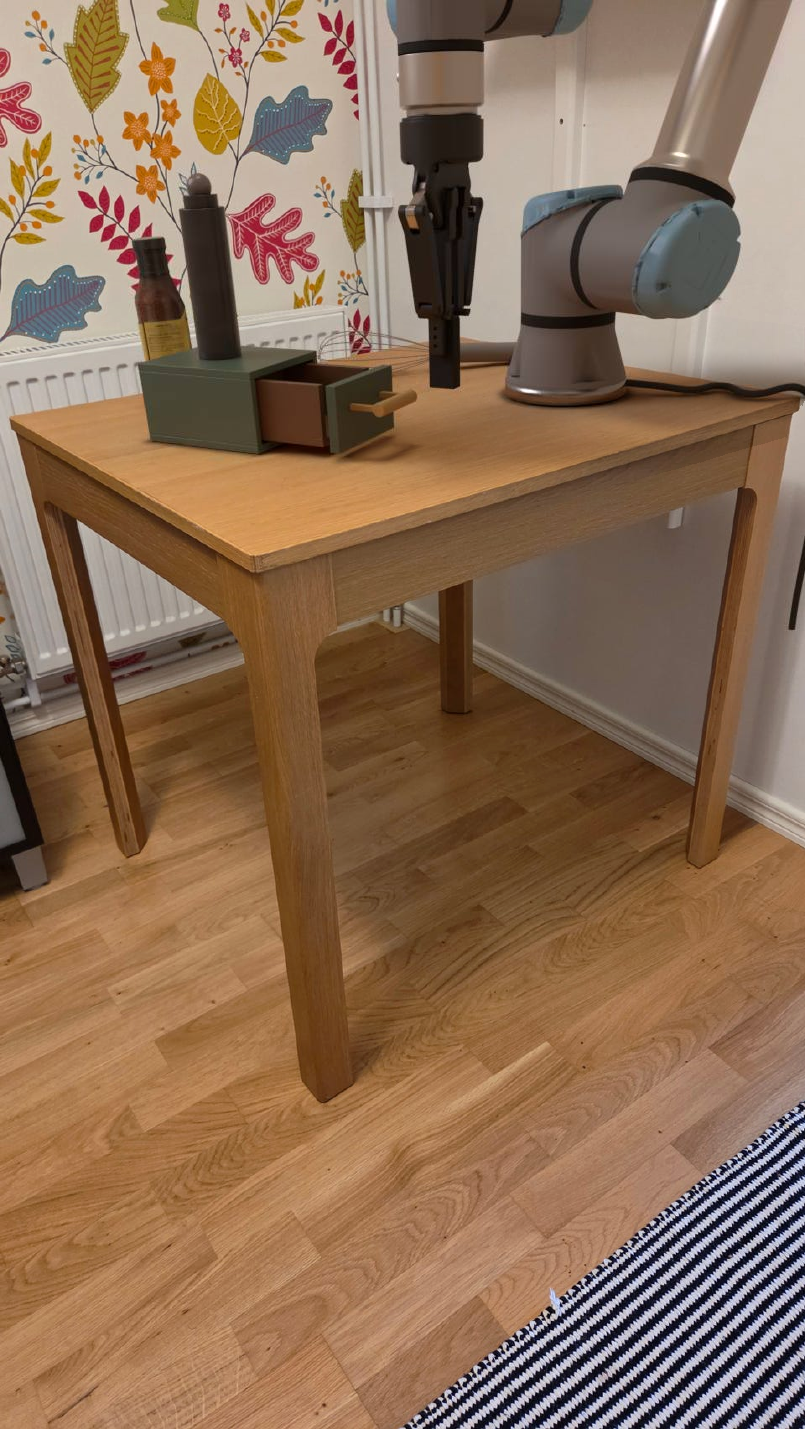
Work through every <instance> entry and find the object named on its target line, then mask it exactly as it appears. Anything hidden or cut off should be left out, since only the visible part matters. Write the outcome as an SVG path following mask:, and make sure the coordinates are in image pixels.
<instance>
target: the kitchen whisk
mask: <svg viewBox="0 0 805 1429" xmlns="http://www.w3.org/2000/svg"><path fill="white" fill-rule="evenodd" d="M342 333H346V334H342ZM339 334H341V335H339ZM334 335H337V336H335V337H332V336H334ZM345 336H374V337H381V338H387V339H393V340H397V341H402V342H406V343H411V344H415V345H418V346H421V347H425V348H421V347H413V346H407V345H400V344H391V343H378V342H366V341H365V342H363V341H347V342H346V341H341V342H333V343H329V342H330V341H332V340H335V339H337V338H340V337H345ZM330 337H332V338H330ZM328 338H329V339H328ZM327 339H328V340H327ZM326 340H327V341H326ZM325 341H326V342H325ZM324 342H325V343H324ZM328 343H329V344H328ZM516 343H517V341H501V342H497V341H496V342H493V341H492V342H460V364H465V363H466V364H467V363H505V362H507V363H509V359H510V357H511V356H512V355H513V352H514V349H515V346H516ZM339 344H367V345H368V344H369V345H381V346H393V347H400V348H407V349H394V348H393V349H392V348H346V349H345V348H344V349H334V350H327V351H323V348H325V347H328V346H332V345H339ZM427 348H428V349H427ZM363 350H364V351H399V352H401V351H402V352H421V353H429V345H426V344H423V343H420V342H417V341H413V340H411V339H407V338H403V337H399V336H393V335H389V334H384V333H383V334H382V333H379V332H372V331H363V330H345V331H339V332H334V333H332V334H330V335H328V336H325V338H324V339H323V341H322V342H321V344H320V345H319V348H318V351H317V360H319V363H320V364H328V363H327V362H363V361H364V362H365V361H380V360H395V359H405V358H407V359H408V358H418V357H424V358H419V359H415V360H414V359H413V360H409V361H404V362H398V363H391V364H390V365H391V366H397V365H402V364H405V365H403V366H399V367H395V368H392V374H395V373H399V372H401V371H405V370H408V369H411V368H414V367H417V366H420V365H423V364H425V363H429V354H420V355H411V356H410V355H409V356H397V357H387V358H371V359H369V358H368V359H349V360H348V359H345V360H342V359H341V360H339V359H338V360H335V359H323V358H321V356H322V355H324V354H327V353H332V352H340V351H341V352H342V351H363ZM322 351H323V352H322ZM427 356H428V357H427ZM325 361H326V362H325ZM413 362H414V363H413ZM408 363H409V364H408ZM410 363H411V364H410ZM378 366H379V365H376V366H368V367H369V369H373V368H375V367H378ZM393 370H395V371H393Z"/></svg>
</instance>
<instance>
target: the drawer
mask: <svg viewBox="0 0 805 1429" xmlns="http://www.w3.org/2000/svg"><path fill="white" fill-rule="evenodd" d="M377 366H378V367H375V366H374V367H375V368H369V367H370V366H362V365H361V366H359V365H348V364H347V365H345V364H331V363H327V364H325V363H322V364H321V363H320V362H319V363H318V362H317V363H305V362H303V363H300V364H297V365H294V366H291V367H288V368H285V369H282V370H279V371H276V372H273V373H270V374H267V375H264V376H261V377H258V378H255V387H256V396H257V405H258V414H259V423H260V432H261V440H267V441H275V442H284V443H283V444H293V445H302V446H311V447H320V448H324V447H327V446H329V449H330V453H331V454H338V455H341V454H342V453H343V454H344V453H345V452H347V451H349V450H351V449H353V448H356V447H357V446H359V445H361V444H363V443H366V442H367V441H369V440H372V439H374V438H376V437H379V436H380V435H382V434H384V433H387V432H388V431H392V430H393V429H394V428H395V414H394V412H395V411H397V410H400V409H402V408H404V407H406V406H409V405H412V404H413V403H415V402H417V399H418V393H417V392H416V390H414V389H412V388H410V389H409V388H408V389H407V390H405V391H404V390H403V391H402V392H397V391H393V388H394V387H393V373H392V372H393V370H392V369H393V367H392V366H393V365H391V364H381V365H377Z"/></svg>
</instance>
